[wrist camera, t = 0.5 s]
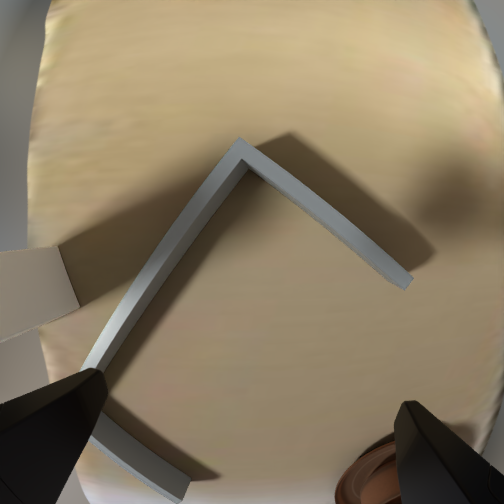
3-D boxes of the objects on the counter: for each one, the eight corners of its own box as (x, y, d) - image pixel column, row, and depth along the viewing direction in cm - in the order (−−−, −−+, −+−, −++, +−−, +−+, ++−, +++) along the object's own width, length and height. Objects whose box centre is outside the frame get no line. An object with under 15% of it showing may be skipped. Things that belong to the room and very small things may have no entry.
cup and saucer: (466, 444, 22) (490, 477, 16) (391, 515, 23) (401, 552, 17) (389, 410, 23) (410, 452, 16) (308, 492, 24) (309, 537, 18)
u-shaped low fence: (186, 482, 25) (176, 504, 22) (76, 396, 26) (57, 411, 22) (396, 270, 22) (413, 277, 18) (246, 149, 22) (239, 136, 19)
